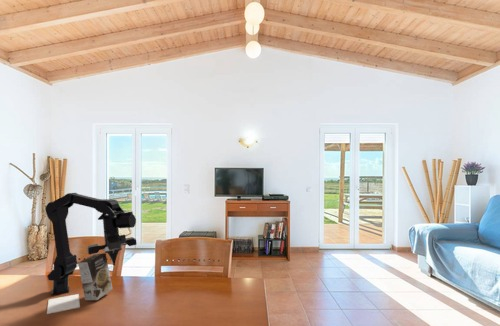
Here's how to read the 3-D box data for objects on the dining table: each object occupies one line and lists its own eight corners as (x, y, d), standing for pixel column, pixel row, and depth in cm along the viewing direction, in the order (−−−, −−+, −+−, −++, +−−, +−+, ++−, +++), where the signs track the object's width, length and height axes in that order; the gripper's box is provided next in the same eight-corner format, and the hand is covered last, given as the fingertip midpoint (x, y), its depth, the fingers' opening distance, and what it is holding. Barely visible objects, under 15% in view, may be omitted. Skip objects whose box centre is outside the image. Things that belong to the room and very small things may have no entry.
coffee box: (97, 300, 117) (89, 261, 116) (84, 300, 118) (76, 262, 117) (113, 288, 125) (106, 252, 124) (101, 289, 127) (94, 253, 126)
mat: (48, 300, 118) (48, 299, 118) (78, 294, 124) (78, 294, 124) (46, 314, 106) (46, 313, 106) (79, 307, 112) (79, 306, 112)
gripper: (88, 235, 113) (91, 276, 113) (137, 227, 124) (140, 263, 123) (85, 232, 123) (88, 269, 122) (132, 224, 133) (135, 258, 133)
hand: (114, 265), depth 125 cm, fingers closed
